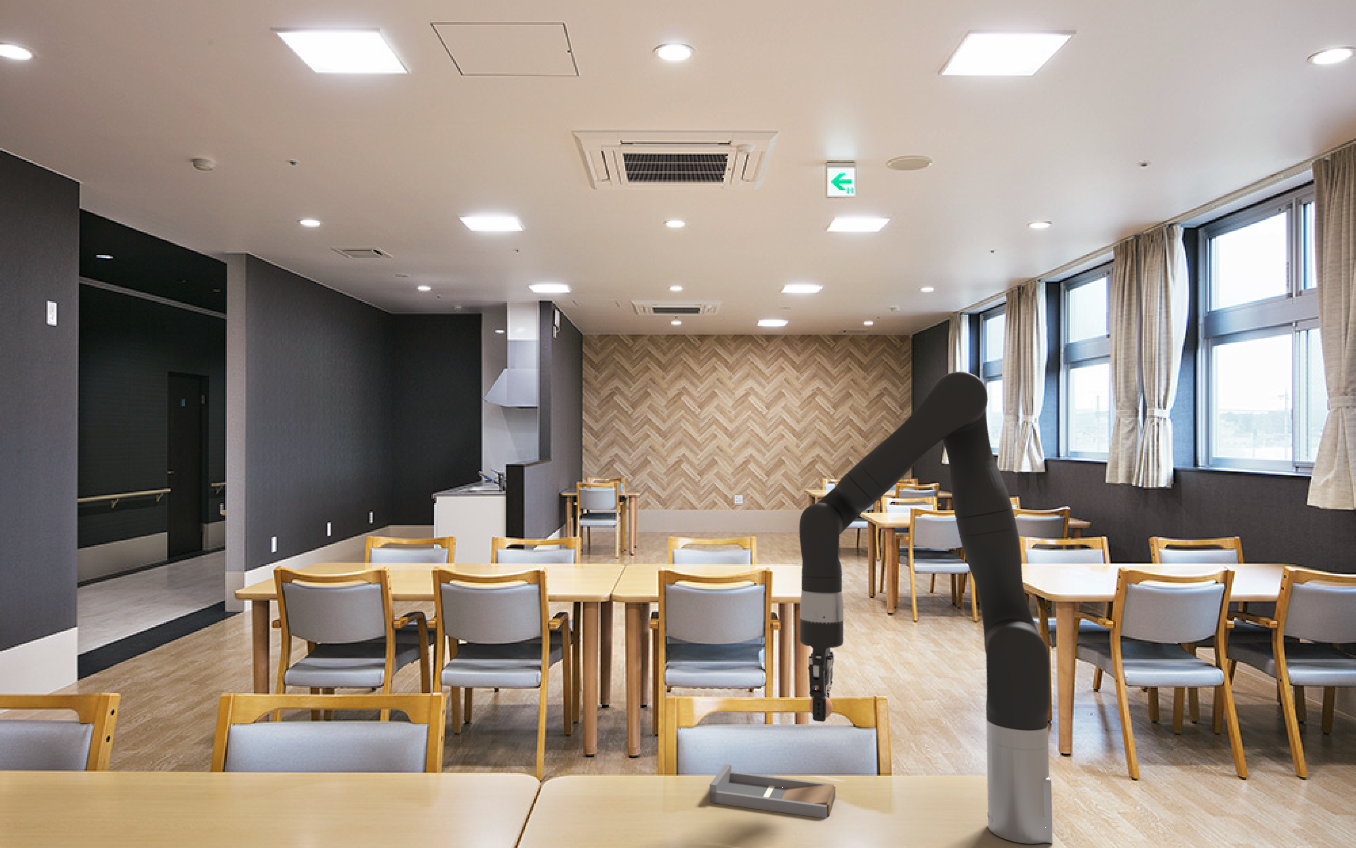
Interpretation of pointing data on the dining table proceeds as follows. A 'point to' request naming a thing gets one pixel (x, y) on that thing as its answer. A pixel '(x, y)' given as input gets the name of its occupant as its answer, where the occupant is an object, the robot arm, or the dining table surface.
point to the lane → (761, 793)
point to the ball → (828, 706)
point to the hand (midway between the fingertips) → (821, 716)
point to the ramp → (812, 795)
